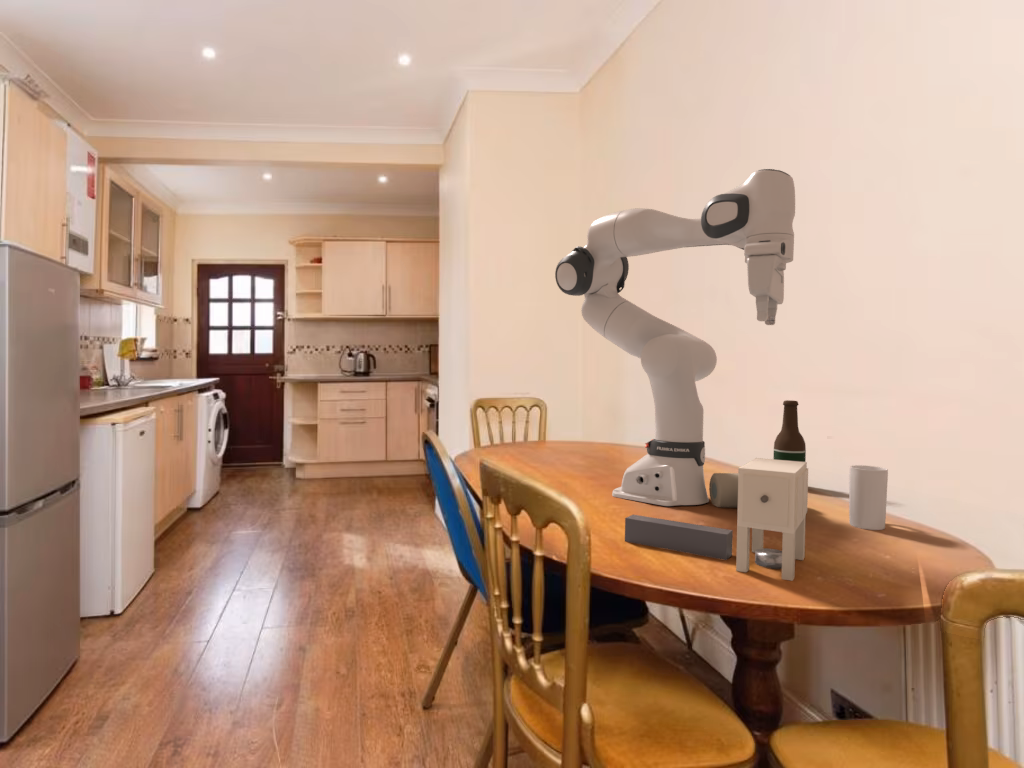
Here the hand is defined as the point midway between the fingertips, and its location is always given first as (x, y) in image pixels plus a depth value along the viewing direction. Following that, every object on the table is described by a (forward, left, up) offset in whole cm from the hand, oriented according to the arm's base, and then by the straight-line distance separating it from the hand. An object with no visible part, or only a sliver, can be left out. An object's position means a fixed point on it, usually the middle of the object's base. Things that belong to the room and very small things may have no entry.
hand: (766, 323), depth 120 cm
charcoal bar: (-10, -24, -41) cm, 48 cm away
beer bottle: (-1, +46, -41) cm, 62 cm away
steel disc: (+6, -24, -41) cm, 48 cm away
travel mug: (-13, +14, -37) cm, 41 cm away
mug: (+18, +16, -41) cm, 47 cm away
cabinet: (+6, -24, -41) cm, 48 cm away
